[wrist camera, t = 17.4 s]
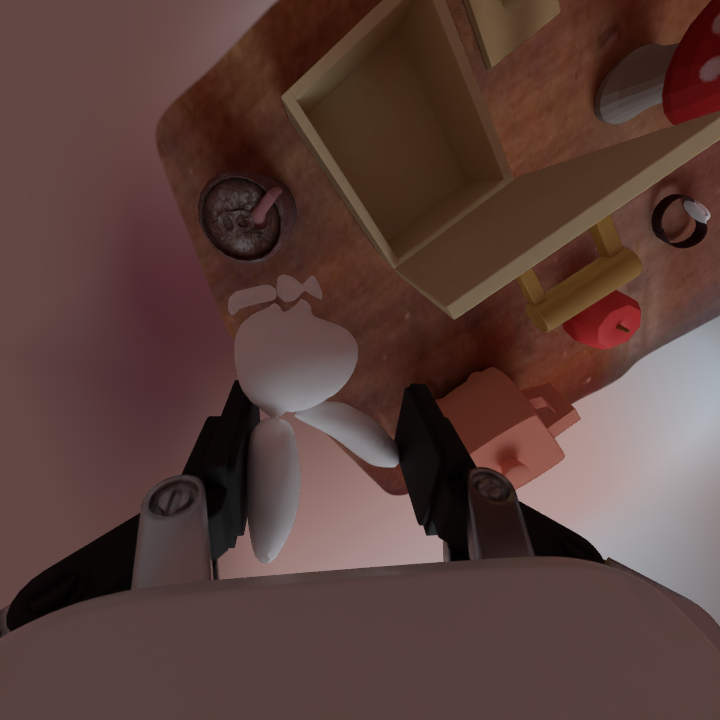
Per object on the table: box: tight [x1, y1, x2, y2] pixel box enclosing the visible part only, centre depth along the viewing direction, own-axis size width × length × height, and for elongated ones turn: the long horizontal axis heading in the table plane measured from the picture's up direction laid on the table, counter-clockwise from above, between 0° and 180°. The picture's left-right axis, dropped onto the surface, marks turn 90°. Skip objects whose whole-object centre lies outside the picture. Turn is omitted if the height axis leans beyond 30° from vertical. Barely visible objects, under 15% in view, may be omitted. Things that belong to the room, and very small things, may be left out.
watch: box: [652, 194, 711, 248], centre depth 38 cm, size 8×5×4 cm, turn 51°
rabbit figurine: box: [228, 274, 400, 564], centre depth 11 cm, size 6×4×8 cm
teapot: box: [435, 367, 581, 490], centre depth 44 cm, size 22×13×14 cm, turn 130°
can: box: [198, 170, 297, 264], centre depth 28 cm, size 6×6×14 cm
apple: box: [563, 290, 641, 349], centre depth 41 cm, size 8×8×8 cm
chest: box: [281, 0, 514, 270], centre depth 29 cm, size 16×13×9 cm
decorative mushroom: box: [594, 0, 720, 125], centre depth 26 cm, size 10×9×15 cm
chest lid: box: [395, 111, 720, 333], centre depth 21 cm, size 16×13×5 cm
